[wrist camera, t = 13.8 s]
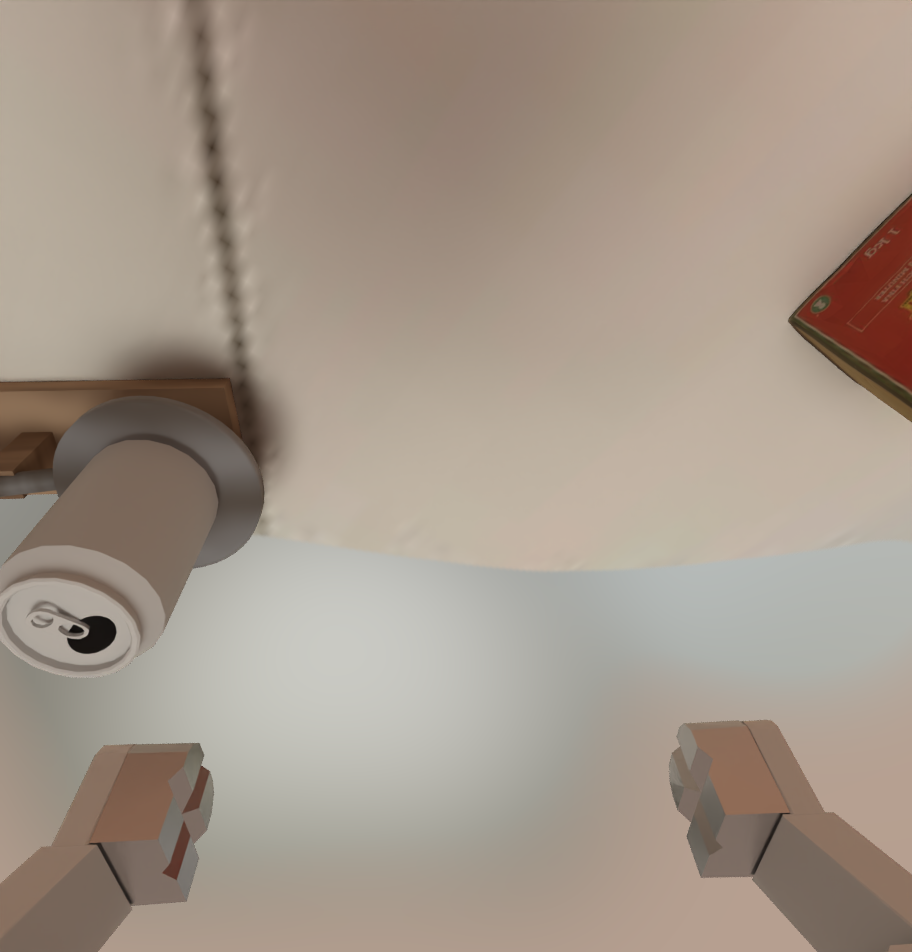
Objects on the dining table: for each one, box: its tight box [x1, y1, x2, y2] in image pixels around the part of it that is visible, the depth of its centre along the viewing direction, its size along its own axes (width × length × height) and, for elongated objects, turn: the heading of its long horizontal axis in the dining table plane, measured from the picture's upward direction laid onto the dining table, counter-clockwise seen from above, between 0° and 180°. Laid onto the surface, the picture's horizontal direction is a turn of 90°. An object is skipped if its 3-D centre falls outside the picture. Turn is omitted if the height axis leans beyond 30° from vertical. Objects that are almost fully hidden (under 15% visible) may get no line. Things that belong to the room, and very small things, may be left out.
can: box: [0, 440, 218, 678], centre depth 34 cm, size 8×8×12 cm
